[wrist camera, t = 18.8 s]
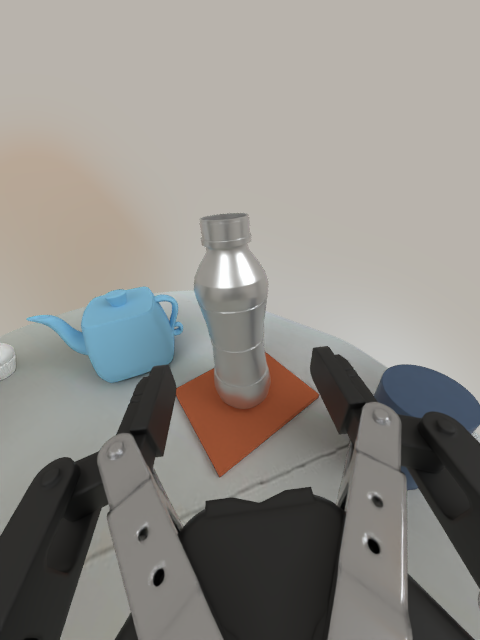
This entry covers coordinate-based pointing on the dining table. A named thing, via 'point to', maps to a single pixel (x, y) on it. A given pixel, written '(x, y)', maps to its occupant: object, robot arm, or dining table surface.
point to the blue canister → (426, 398)
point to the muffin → (7, 360)
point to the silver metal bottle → (234, 309)
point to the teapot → (122, 332)
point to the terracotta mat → (241, 414)
